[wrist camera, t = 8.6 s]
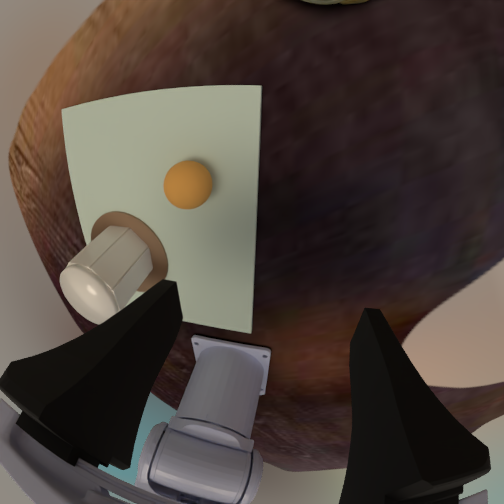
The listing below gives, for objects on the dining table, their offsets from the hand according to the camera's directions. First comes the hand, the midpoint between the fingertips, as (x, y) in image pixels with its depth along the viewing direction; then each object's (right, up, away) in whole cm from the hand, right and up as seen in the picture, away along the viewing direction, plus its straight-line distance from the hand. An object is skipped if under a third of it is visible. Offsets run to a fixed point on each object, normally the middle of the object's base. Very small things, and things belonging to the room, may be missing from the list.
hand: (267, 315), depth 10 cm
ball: (-4, +6, +6) cm, 10 cm away
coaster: (-11, +2, +12) cm, 17 cm away
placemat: (-8, +5, +10) cm, 14 cm away
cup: (-11, +2, +12) cm, 16 cm away
